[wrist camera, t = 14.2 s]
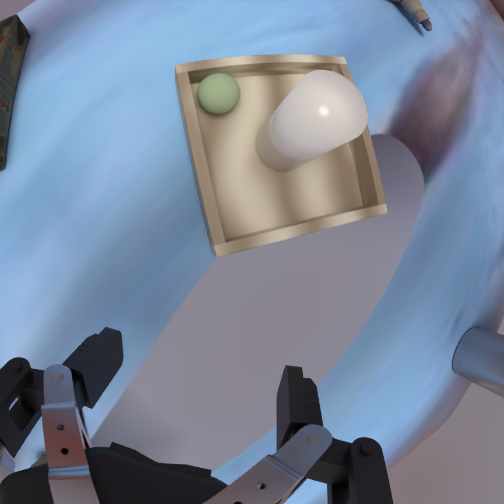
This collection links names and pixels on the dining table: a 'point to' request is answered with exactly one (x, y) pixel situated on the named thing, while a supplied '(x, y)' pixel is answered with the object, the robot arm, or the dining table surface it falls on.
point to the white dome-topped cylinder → (312, 121)
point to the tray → (260, 175)
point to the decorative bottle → (416, 12)
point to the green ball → (218, 93)
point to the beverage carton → (9, 72)
